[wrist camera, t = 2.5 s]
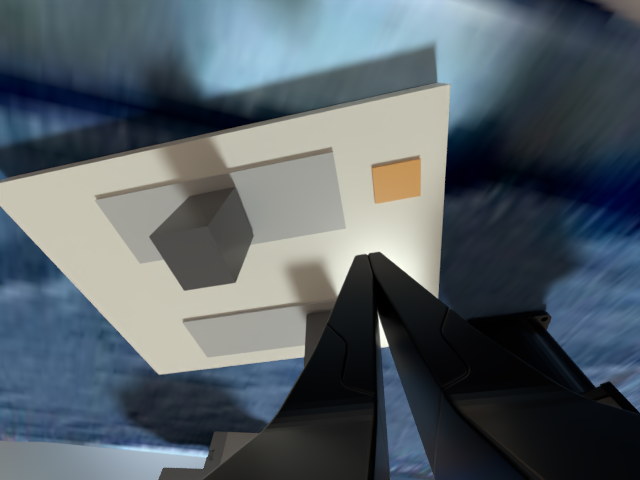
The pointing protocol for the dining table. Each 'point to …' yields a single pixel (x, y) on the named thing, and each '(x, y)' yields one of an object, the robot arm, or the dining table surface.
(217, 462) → the circuit breaker
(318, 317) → the block
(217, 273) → the block
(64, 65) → the dining table surface
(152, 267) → the board
